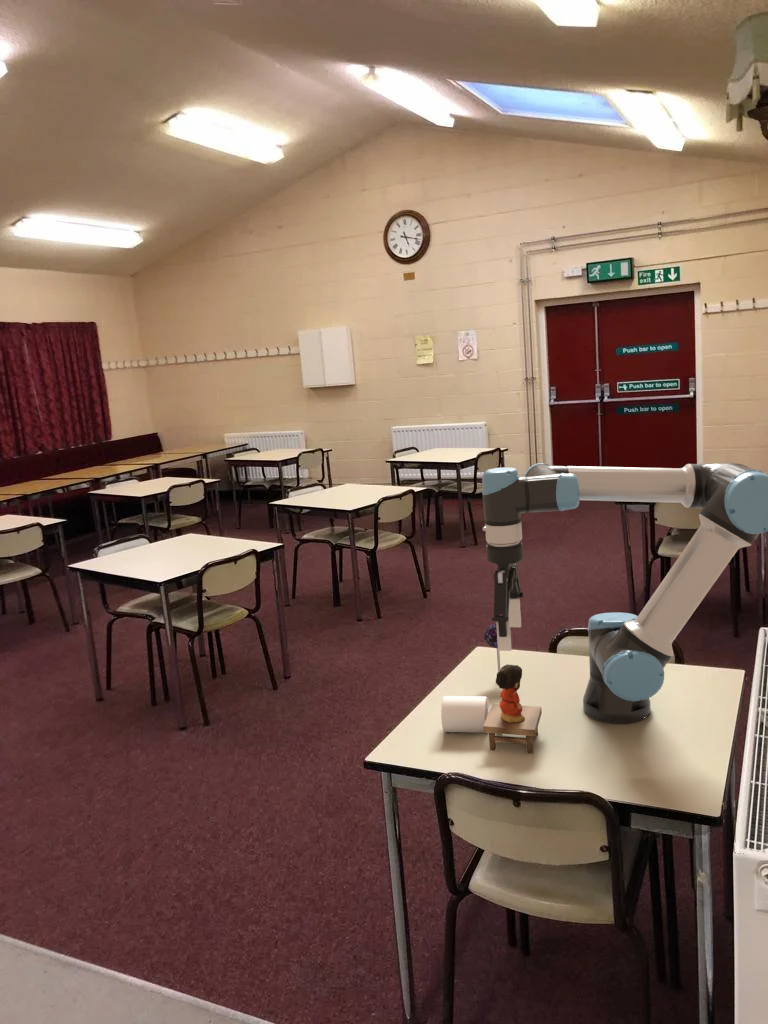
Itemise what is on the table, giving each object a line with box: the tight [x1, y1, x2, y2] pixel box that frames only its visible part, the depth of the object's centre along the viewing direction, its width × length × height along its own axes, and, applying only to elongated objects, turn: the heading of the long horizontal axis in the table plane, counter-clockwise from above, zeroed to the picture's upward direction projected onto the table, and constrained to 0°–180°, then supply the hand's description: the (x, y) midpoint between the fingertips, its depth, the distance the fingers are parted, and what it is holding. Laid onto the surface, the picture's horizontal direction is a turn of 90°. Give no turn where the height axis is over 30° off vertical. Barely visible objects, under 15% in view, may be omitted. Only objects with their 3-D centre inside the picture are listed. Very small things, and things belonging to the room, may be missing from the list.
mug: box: [440, 695, 490, 734], centre depth 183 cm, size 12×10×8 cm
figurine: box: [495, 664, 525, 723], centre depth 171 cm, size 6×6×12 cm
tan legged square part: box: [483, 703, 542, 755], centre depth 174 cm, size 11×11×6 cm
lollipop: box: [483, 622, 501, 673], centre depth 207 cm, size 7×7×15 cm
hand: (510, 638), depth 170 cm, fingers open, 13 cm apart
